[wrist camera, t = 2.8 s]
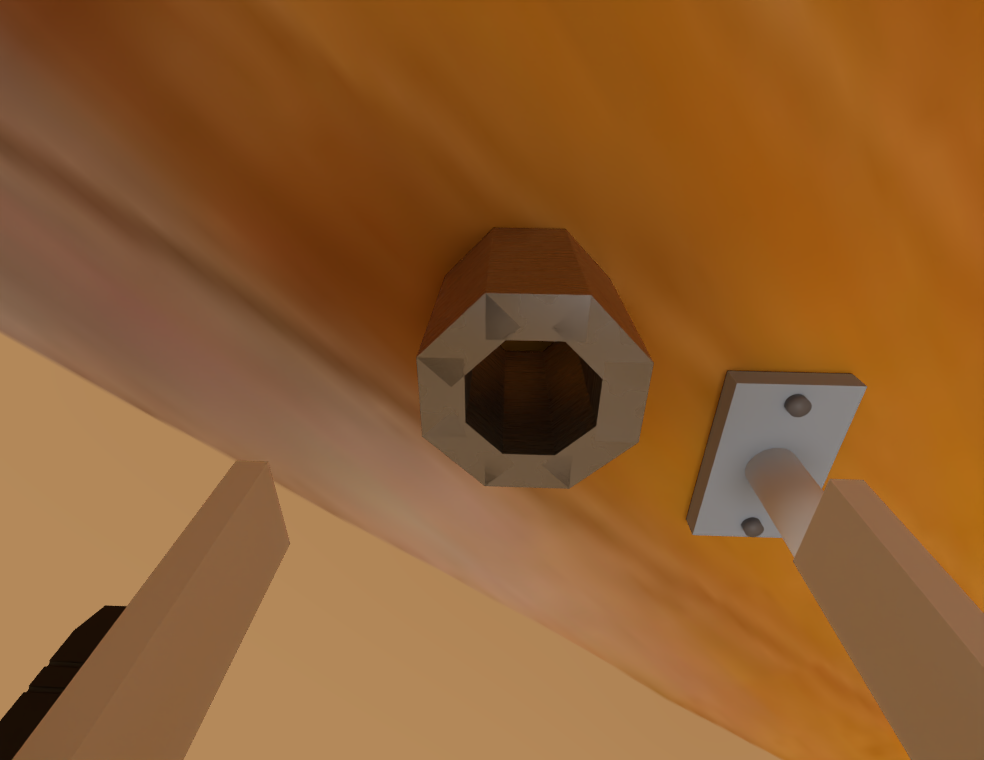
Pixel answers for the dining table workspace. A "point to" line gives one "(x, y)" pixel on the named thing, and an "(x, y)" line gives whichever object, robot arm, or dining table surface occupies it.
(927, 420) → the dining table surface
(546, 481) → the tube
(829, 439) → the shaft stand
